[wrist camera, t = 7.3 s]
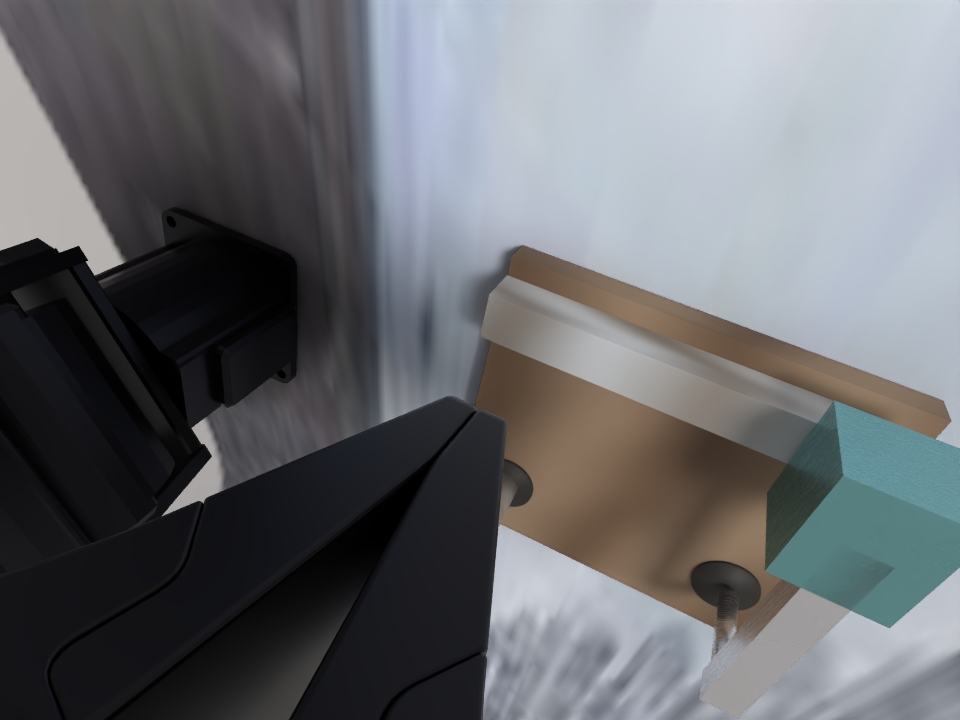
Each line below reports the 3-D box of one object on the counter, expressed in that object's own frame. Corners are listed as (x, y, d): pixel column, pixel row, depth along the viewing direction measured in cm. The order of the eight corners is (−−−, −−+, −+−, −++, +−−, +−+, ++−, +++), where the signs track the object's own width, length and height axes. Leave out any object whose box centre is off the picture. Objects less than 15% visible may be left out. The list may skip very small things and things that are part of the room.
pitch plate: (460, 484, 27) (412, 560, 23) (522, 245, 20) (466, 301, 16) (749, 622, 24) (743, 732, 20) (943, 401, 17) (985, 510, 13)
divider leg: (684, 583, 22) (667, 689, 19) (830, 374, 16) (843, 475, 13) (765, 621, 22) (762, 738, 18) (948, 418, 16) (994, 537, 12)
